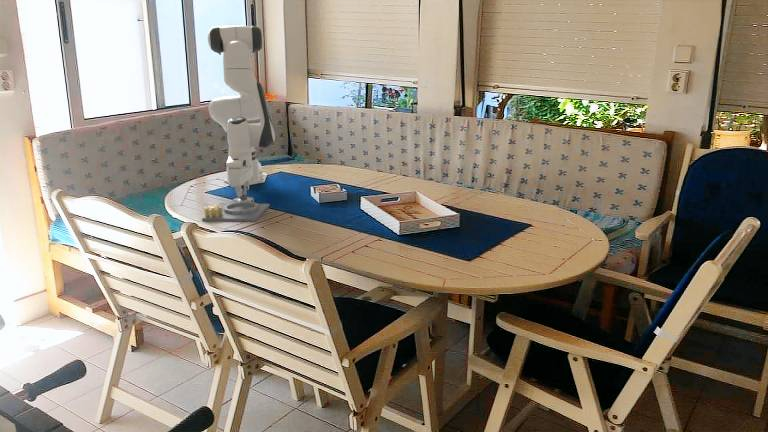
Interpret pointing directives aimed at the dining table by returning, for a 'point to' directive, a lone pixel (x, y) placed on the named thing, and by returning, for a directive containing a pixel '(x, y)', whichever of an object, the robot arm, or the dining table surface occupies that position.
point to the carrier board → (235, 211)
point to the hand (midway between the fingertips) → (243, 193)
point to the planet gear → (243, 197)
